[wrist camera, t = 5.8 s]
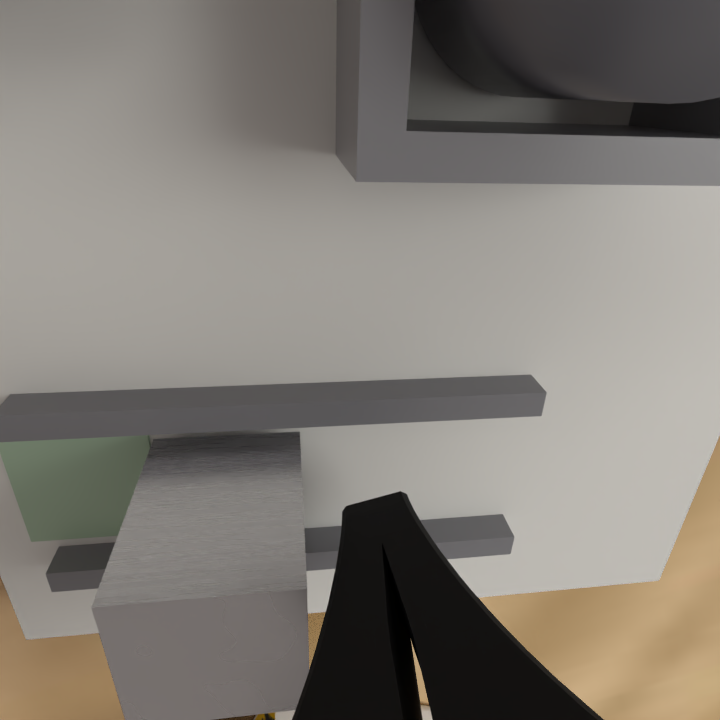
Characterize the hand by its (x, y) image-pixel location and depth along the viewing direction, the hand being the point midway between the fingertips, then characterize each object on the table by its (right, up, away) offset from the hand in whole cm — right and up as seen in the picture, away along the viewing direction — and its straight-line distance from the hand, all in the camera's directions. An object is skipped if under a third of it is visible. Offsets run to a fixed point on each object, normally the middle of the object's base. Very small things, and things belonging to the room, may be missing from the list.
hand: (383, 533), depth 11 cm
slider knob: (-3, +1, +1) cm, 4 cm away
